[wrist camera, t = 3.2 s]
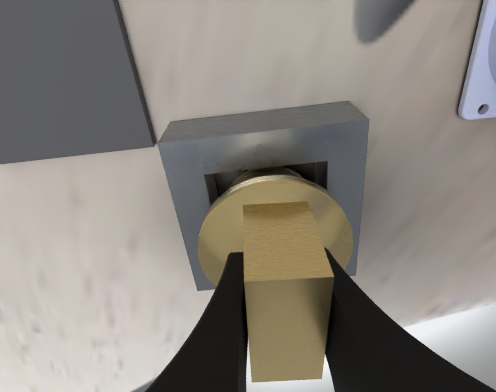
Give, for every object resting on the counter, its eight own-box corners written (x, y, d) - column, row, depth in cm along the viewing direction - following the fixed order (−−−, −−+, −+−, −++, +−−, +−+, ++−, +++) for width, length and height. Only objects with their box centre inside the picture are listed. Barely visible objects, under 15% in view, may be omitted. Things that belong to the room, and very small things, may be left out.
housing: (348, 101, 16) (369, 119, 13) (340, 241, 20) (355, 275, 18) (170, 121, 16) (157, 143, 14) (202, 255, 21) (197, 290, 18)
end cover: (337, 144, 15) (414, 250, 8) (326, 252, 18) (375, 387, 12) (197, 152, 15) (165, 263, 8) (212, 258, 18) (197, 397, 12)
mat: (95, -80, 12) (89, -84, 12) (156, 142, 17) (153, 146, 16) (-130, -49, 12) (-146, -51, 12) (-9, 161, 17) (-17, 166, 16)
